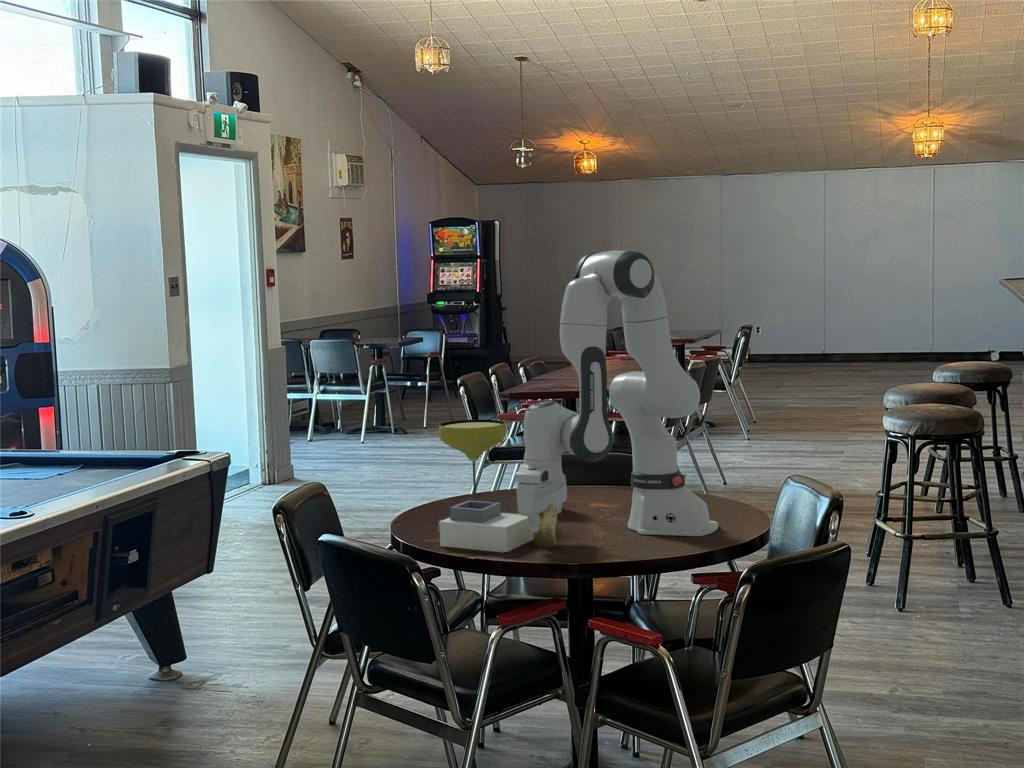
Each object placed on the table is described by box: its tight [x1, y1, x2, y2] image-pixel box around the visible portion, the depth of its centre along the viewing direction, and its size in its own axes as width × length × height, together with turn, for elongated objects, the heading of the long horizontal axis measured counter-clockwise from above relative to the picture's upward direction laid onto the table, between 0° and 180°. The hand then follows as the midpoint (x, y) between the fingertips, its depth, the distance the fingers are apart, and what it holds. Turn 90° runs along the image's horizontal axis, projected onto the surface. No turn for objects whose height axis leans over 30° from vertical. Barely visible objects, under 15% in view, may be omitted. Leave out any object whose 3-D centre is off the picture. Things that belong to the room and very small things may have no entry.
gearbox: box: [437, 499, 534, 553], centre depth 269 cm, size 22×14×9 cm, turn 62°
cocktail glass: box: [438, 419, 507, 501], centre depth 299 cm, size 18×18×25 cm
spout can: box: [533, 503, 556, 548], centre depth 264 cm, size 5×5×13 cm
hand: (543, 527), depth 264 cm, fingers open, 8 cm apart
